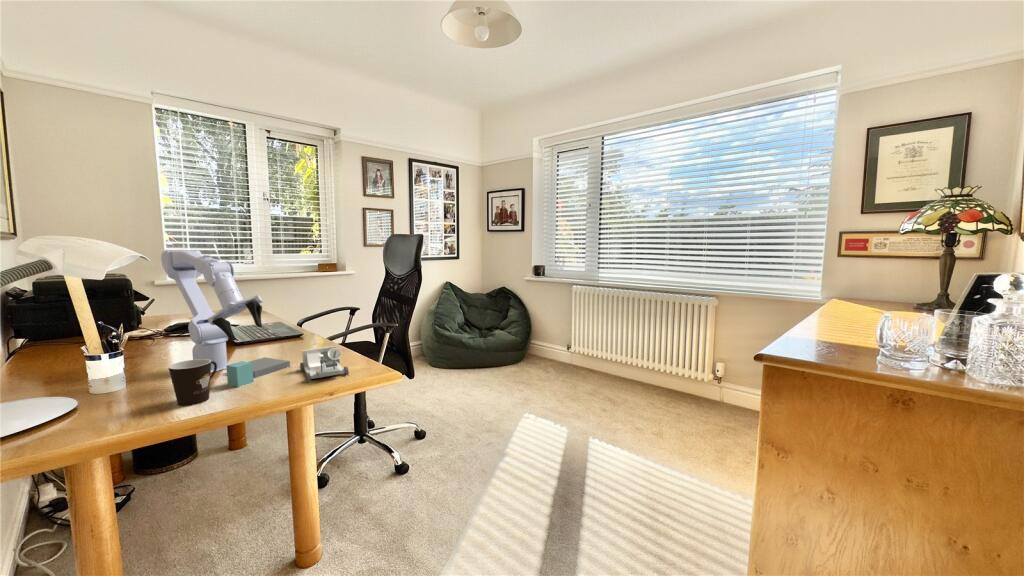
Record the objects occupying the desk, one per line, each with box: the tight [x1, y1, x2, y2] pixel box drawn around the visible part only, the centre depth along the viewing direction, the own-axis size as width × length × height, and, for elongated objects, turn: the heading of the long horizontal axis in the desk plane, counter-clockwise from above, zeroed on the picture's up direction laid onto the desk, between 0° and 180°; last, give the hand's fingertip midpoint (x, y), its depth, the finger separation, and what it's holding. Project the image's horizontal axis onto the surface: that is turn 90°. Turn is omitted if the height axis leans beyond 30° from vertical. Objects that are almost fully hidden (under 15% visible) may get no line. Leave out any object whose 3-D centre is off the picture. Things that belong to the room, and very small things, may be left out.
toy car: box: [299, 345, 350, 383], centre depth 125 cm, size 18×10×12 cm
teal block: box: [226, 360, 254, 388], centre depth 115 cm, size 4×4×6 cm
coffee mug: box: [168, 359, 217, 407], centre depth 104 cm, size 12×9×10 cm
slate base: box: [248, 357, 291, 379], centre depth 128 cm, size 12×12×2 cm
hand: (246, 332), depth 116 cm, fingers open, 7 cm apart
